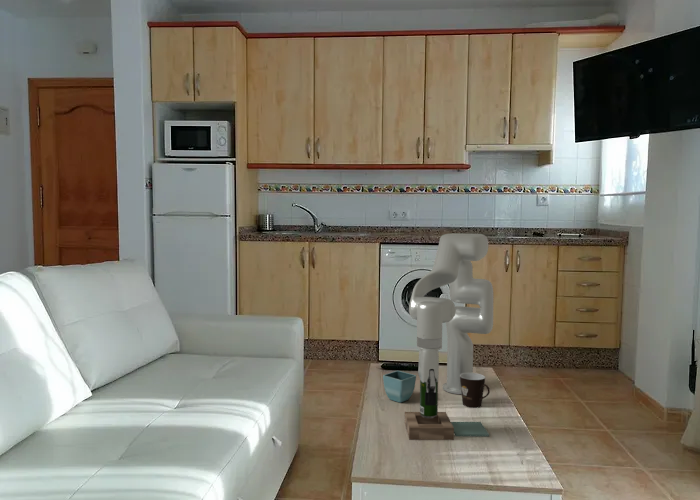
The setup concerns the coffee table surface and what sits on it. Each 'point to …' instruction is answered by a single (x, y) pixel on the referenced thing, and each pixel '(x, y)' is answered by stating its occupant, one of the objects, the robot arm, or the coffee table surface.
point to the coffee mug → (472, 389)
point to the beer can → (427, 410)
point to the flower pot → (399, 385)
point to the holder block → (428, 427)
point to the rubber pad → (469, 429)
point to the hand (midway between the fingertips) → (428, 400)
